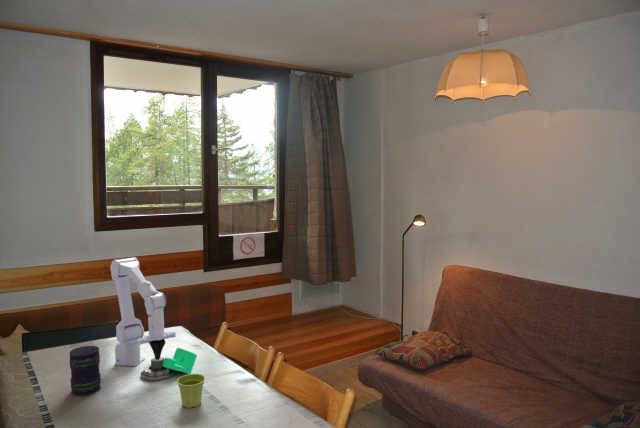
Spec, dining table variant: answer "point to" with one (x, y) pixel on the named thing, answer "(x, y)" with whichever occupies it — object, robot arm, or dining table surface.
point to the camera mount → (181, 361)
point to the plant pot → (191, 389)
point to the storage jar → (85, 370)
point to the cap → (157, 364)
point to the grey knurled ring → (156, 373)
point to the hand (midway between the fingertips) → (157, 358)
